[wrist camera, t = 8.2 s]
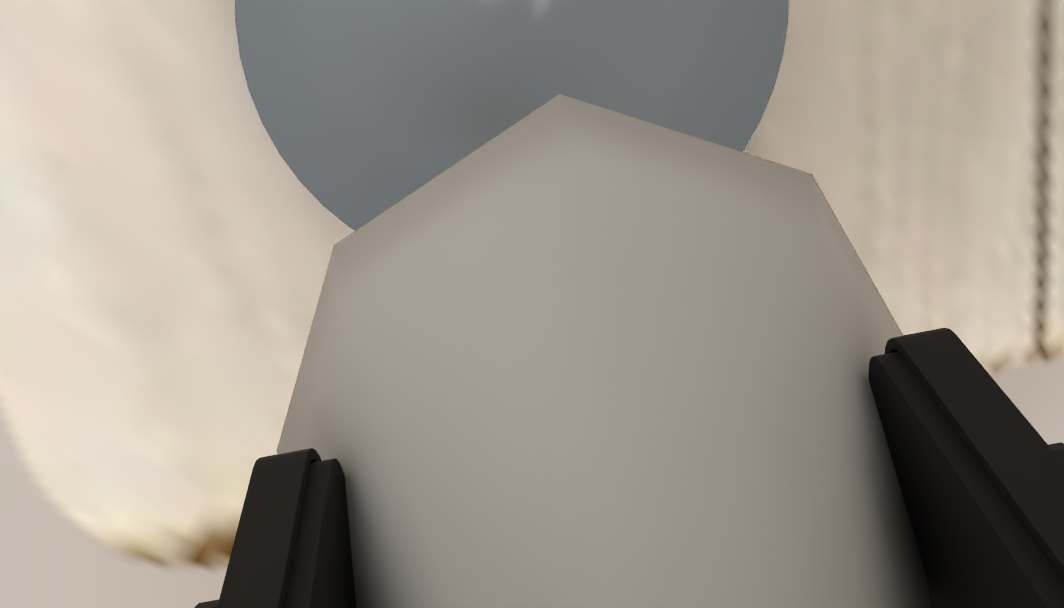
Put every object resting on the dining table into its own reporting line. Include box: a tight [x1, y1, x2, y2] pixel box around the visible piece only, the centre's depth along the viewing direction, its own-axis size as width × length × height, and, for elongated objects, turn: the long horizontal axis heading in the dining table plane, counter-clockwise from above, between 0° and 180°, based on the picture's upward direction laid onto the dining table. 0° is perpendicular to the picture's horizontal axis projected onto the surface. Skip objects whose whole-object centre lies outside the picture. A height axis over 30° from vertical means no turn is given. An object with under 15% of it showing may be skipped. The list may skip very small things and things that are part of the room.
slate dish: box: [235, 0, 789, 231], centre depth 26 cm, size 14×14×1 cm
